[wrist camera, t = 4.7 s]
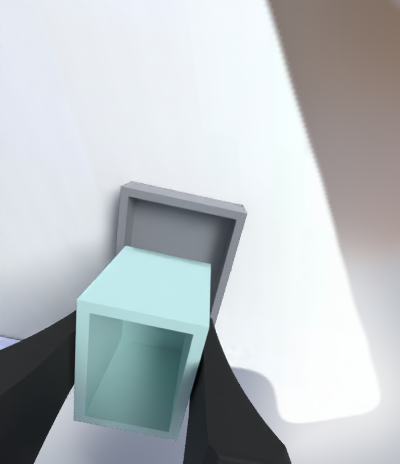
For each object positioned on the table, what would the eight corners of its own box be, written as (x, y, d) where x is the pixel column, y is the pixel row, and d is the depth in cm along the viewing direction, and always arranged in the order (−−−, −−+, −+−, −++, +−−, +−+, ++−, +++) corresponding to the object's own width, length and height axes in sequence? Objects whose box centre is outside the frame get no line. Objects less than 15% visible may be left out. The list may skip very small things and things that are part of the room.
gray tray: (242, 205, 19) (247, 213, 16) (212, 313, 23) (212, 333, 20) (132, 181, 19) (120, 186, 16) (120, 294, 22) (110, 312, 20)
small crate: (210, 264, 13) (209, 327, 9) (188, 353, 16) (177, 440, 11) (125, 245, 13) (76, 299, 8) (115, 338, 16) (73, 420, 11)
